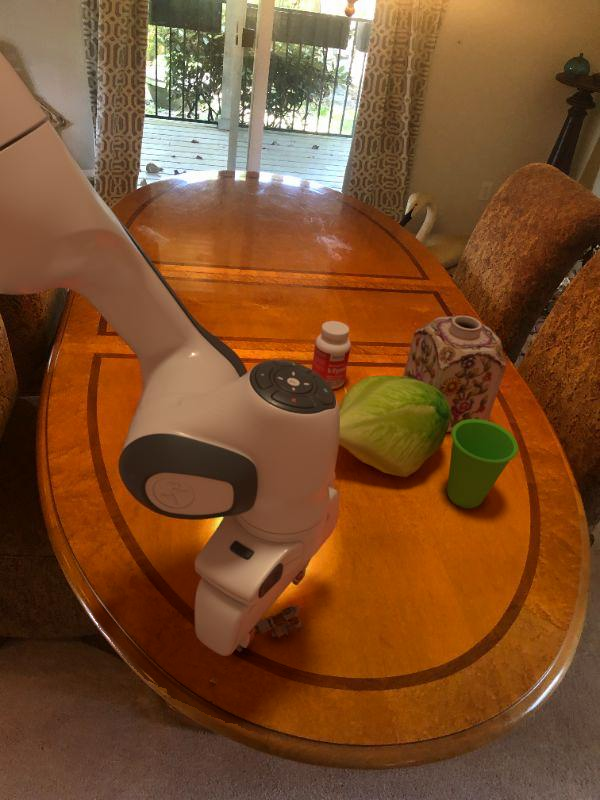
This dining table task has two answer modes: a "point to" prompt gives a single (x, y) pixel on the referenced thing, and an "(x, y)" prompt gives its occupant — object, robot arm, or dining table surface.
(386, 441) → the lettuce
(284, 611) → the brown buckled strap
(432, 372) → the decorative jar
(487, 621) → the dining table surface
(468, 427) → the cup
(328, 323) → the pill bottle
